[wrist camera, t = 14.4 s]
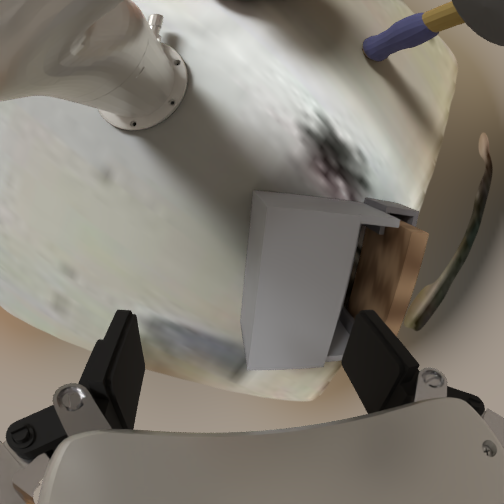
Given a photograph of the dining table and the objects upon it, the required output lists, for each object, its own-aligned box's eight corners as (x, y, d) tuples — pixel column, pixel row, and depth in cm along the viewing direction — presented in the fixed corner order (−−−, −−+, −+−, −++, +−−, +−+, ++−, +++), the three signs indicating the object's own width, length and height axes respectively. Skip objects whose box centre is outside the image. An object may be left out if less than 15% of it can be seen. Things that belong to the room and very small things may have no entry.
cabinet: (253, 184, 36) (268, 198, 26) (396, 202, 40) (441, 221, 29) (239, 325, 44) (247, 374, 33) (365, 323, 47) (394, 361, 37)
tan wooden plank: (368, 210, 40) (411, 231, 29) (390, 213, 40) (435, 234, 30) (344, 315, 46) (372, 356, 35) (365, 314, 46) (395, 352, 36)
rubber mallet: (379, 20, 29) (522, -46, 1) (407, 57, 31) (564, 24, 3) (325, 48, 31) (485, -52, 3) (358, 89, 33) (548, 50, 5)
